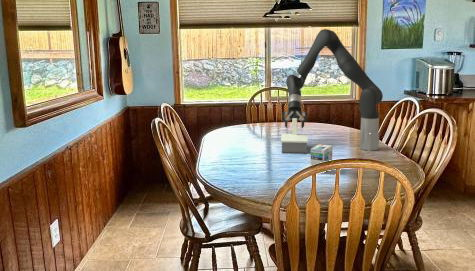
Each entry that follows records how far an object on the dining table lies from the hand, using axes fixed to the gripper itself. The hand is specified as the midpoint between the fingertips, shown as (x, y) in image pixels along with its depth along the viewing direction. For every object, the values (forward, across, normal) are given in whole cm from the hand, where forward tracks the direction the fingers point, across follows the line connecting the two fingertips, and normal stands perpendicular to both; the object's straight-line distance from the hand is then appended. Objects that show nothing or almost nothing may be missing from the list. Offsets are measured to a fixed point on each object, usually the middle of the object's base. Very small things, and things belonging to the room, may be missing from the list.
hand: (294, 127), depth 240 cm
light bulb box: (+40, +12, -24) cm, 48 cm away
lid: (+9, 0, 0) cm, 9 cm away
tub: (+12, 0, +4) cm, 13 cm away
